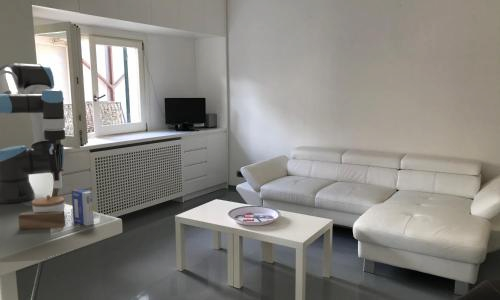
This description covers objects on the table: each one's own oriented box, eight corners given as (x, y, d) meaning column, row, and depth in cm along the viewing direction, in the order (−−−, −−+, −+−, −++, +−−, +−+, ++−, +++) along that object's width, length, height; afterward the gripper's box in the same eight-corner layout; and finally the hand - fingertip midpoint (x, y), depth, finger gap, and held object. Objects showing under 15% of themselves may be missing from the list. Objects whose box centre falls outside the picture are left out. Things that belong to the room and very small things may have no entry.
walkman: (73, 222, 145) (71, 189, 143) (80, 220, 147) (78, 188, 146) (87, 225, 141) (85, 192, 139) (94, 223, 143) (92, 191, 142)
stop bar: (22, 226, 140) (21, 212, 140) (65, 224, 142) (64, 211, 142) (19, 229, 137) (18, 215, 137) (62, 227, 139) (61, 213, 139)
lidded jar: (72, 219, 149) (70, 194, 148) (44, 227, 140) (42, 200, 139) (54, 214, 155) (52, 190, 153) (26, 222, 145) (25, 196, 144)
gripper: (49, 127, 163) (53, 184, 167) (38, 131, 151) (42, 192, 154) (69, 127, 164) (72, 183, 168) (59, 131, 152) (63, 191, 156)
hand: (58, 187), depth 161 cm, fingers closed
